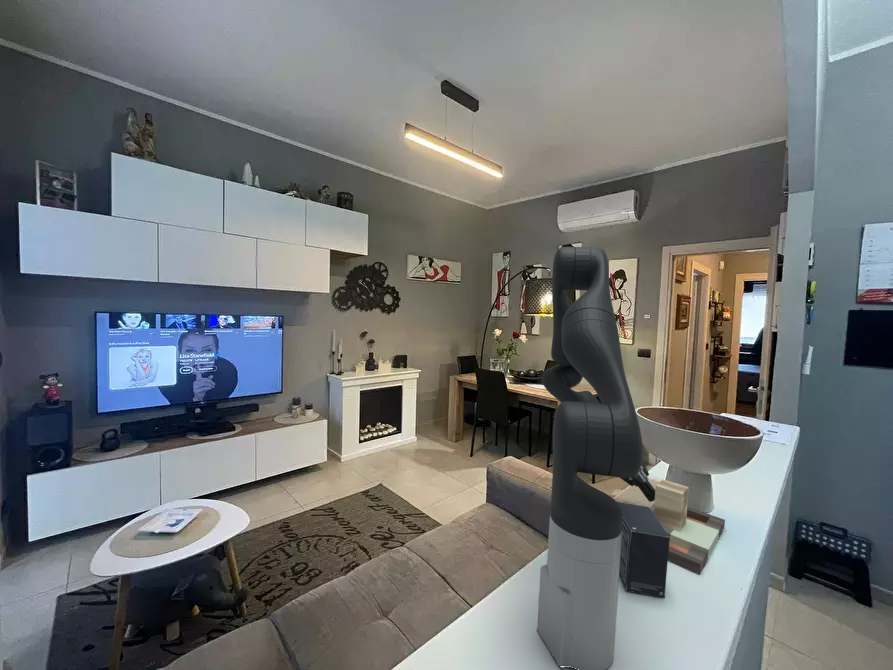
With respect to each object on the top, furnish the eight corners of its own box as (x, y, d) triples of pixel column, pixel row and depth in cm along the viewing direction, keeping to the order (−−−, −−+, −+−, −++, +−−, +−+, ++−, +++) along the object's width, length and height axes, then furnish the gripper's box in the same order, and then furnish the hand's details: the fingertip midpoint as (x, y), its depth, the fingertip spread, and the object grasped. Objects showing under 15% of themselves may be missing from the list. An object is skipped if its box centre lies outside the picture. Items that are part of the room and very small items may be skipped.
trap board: (699, 575, 66) (700, 564, 66) (624, 541, 75) (624, 531, 75) (724, 528, 82) (725, 519, 82) (659, 505, 91) (660, 497, 91)
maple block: (679, 532, 76) (682, 494, 76) (653, 521, 80) (655, 485, 79) (686, 523, 80) (688, 487, 79) (660, 513, 83) (662, 479, 83)
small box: (668, 600, 60) (672, 537, 59) (625, 592, 61) (629, 530, 60) (646, 559, 70) (650, 505, 69) (610, 553, 71) (613, 500, 71)
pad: (707, 559, 70) (708, 549, 70) (669, 543, 75) (670, 534, 75) (718, 539, 77) (719, 530, 77) (682, 526, 82) (683, 517, 82)
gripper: (603, 427, 83) (660, 501, 75) (625, 418, 92) (677, 483, 84) (579, 444, 87) (630, 516, 79) (602, 434, 96) (650, 497, 88)
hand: (655, 499), depth 82 cm, fingers closed
